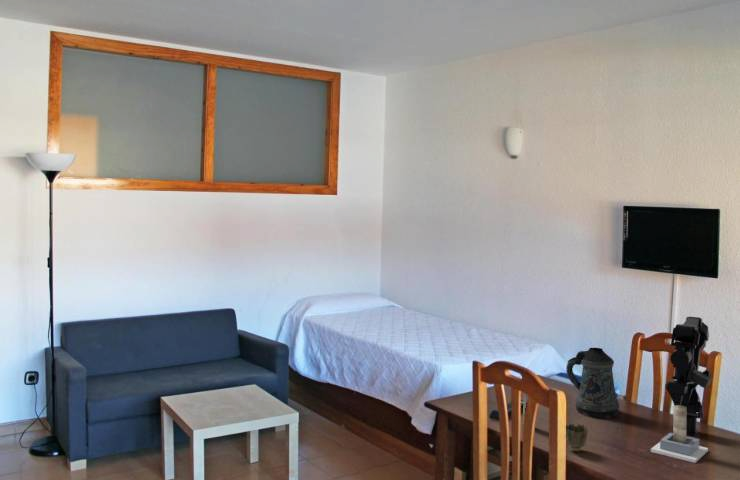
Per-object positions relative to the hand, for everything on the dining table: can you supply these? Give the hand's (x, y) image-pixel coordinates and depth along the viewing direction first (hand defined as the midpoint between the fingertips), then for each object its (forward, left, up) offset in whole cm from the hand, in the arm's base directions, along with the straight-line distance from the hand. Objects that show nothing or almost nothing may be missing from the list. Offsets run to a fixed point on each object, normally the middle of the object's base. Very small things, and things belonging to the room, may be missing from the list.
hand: (682, 406), depth 238 cm
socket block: (+8, +2, -13) cm, 15 cm away
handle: (+21, -47, -13) cm, 53 cm away
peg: (+8, +2, -12) cm, 15 cm away
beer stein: (-13, -37, -13) cm, 41 cm away
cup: (+31, -24, -13) cm, 41 cm away
